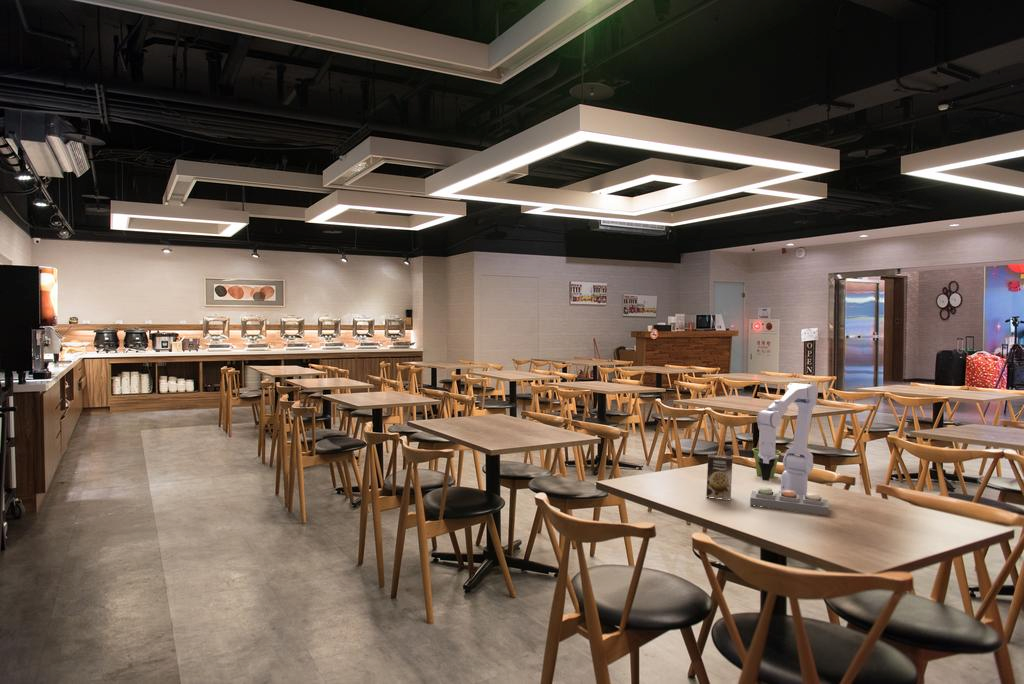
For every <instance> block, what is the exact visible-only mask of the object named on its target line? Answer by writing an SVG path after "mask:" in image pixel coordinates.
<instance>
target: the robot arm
mask: <svg viewBox="0 0 1024 684" xmlns="http://www.w3.org/2000/svg"><path fill="white" fill-rule="evenodd" d="M785 391H786V392H785V393H784V395H783V396H782V397H781V398H780V399H775V400H774V401H773V402H772V403H771V404H770V405H769V406H768V407H767V408H765V409H764V410H763V409H762V410H759V411H758V412H757V415H756V416H757V417H756V423H757V428H758V430H759V434H758V435H759V437H758V448H759V453H758V456H759V457H760V458H759V460H760V461H758V463H759V466H760V468H761V473H762V476H761V479H762V481H766V482H769V481H770V478H771V477H770V474H771V470H772V468H773V466H774V464H775V463H774V461H775V459H774V458H778V457H779V458H780V454H779V455H775V450H776V447H777V446H776V445H777V444H776V442H777V441H776V440H777V438H776V437H777V427H778V426H779V425H780V422H781V420H782V417H783V416H784V415H785V414H786V413H787V412H788V410H789V408H788V406H790V405H791V404H792V403H793V404H795V405H797V407H798V410H797V414H796V415H797V417H796V421H795V422H796V423H795V430H794V436H793V441H792V442H793V443H792V446H791V447H790V448H788V449H787V450H785V454H784V457H783V459H782V464H783V465H782V466H783V467H784V469H785V470H784V471H783V472H782V474H781V477H780V490H778V492H779V493H780V492H781V493H783V490H792V491H795V492H796V494H798V496H800V497H803V495H806V493H808V482H809V481H808V474H809V475H810V473H811V472H812V471H813V469H814V461H813V460H814V455H813V453H811V452H810V451H809V449H808V443H809V436H810V429H811V422H812V414H813V409H814V407H816V406H817V401H818V396H819V395H818V394H819V390H818V388H817V386H816V385H815V384H808V383H796V382H789V384H788V385H787V386H786V390H785ZM779 458H778V459H779Z"/></svg>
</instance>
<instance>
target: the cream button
mask: <svg viewBox="0 0 1024 684" xmlns="http://www.w3.org/2000/svg"><path fill="white" fill-rule="evenodd" d="M820 497H821V494H819V493H817V492H816V493H815V492H807V493H806V498H807V499H811V500H820Z"/></svg>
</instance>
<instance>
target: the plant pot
mask: <svg viewBox="0 0 1024 684" xmlns="http://www.w3.org/2000/svg"><path fill="white" fill-rule="evenodd" d="M751 450H752V451H753V455H754V462H755V471H756V475H757V476H759V475H760V476H759V477H762V473H761V468H760V466H759V463H758V461H760V460H759V458H760V457H759V456H758V453H759V447H754V448H752V449H751ZM781 453H782V451H780V450H779V449H775V455H779V457H778V458H774V459H775V461H774V463H775V464H774V466H773V468H772V470H771V474H770V478H773V477H775V474H776V469H777V464H778V461H779V458H780V454H781Z"/></svg>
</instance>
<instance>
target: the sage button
mask: <svg viewBox="0 0 1024 684" xmlns="http://www.w3.org/2000/svg"><path fill="white" fill-rule="evenodd" d="M758 490H759V492H760V493H762V494H772V491H773V489H772V488H770V487H765V486H763V487H762V486H761V487H759V489H758Z"/></svg>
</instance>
